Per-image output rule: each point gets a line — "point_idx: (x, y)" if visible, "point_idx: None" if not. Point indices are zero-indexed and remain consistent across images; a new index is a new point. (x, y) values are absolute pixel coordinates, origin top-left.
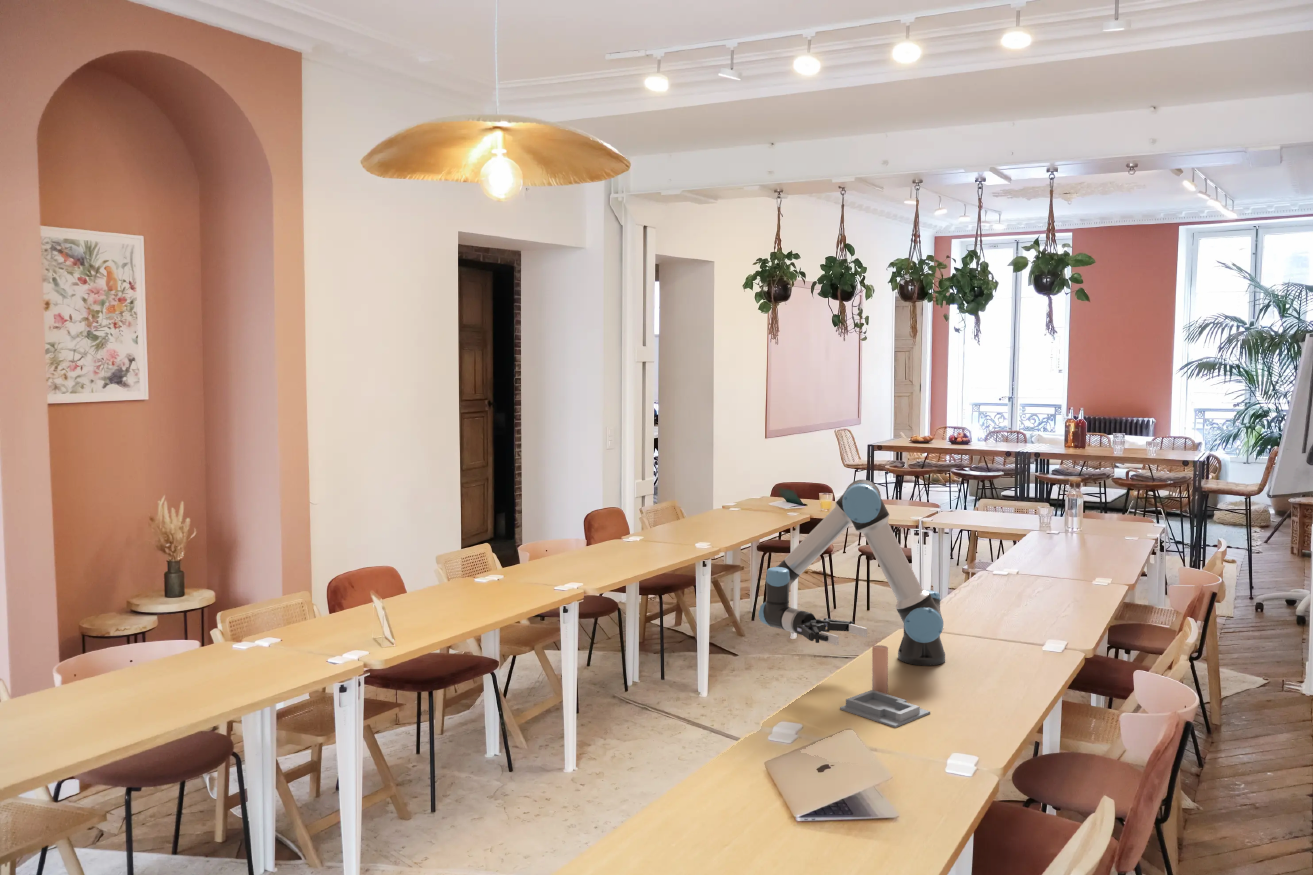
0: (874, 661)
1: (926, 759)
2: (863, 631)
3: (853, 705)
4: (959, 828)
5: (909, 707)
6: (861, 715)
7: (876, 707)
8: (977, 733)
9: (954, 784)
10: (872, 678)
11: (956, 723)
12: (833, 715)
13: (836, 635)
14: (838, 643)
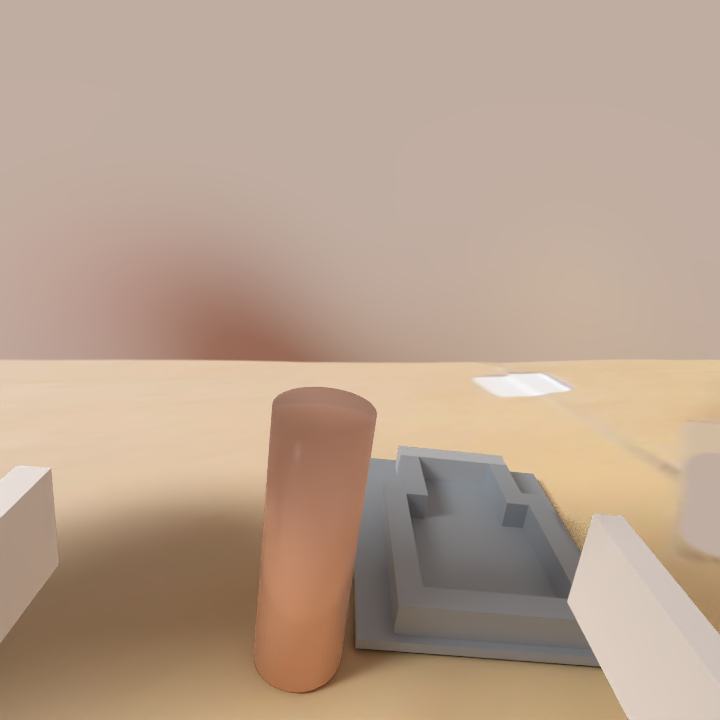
0: (364, 494)
1: (574, 410)
2: (36, 531)
3: None
4: (657, 361)
5: (432, 458)
6: None
7: (537, 511)
8: (375, 392)
9: (588, 378)
10: (341, 606)
11: None
12: None
13: (609, 536)
14: (573, 588)
